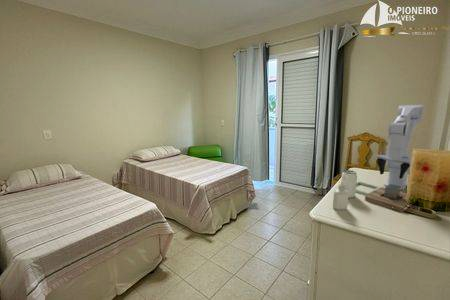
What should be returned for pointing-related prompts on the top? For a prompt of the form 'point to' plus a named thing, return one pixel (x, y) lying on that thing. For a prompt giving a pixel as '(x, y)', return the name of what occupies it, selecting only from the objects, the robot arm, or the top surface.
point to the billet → (392, 192)
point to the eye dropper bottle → (340, 198)
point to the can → (349, 182)
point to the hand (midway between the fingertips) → (391, 176)
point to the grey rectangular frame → (368, 186)
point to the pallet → (387, 200)
